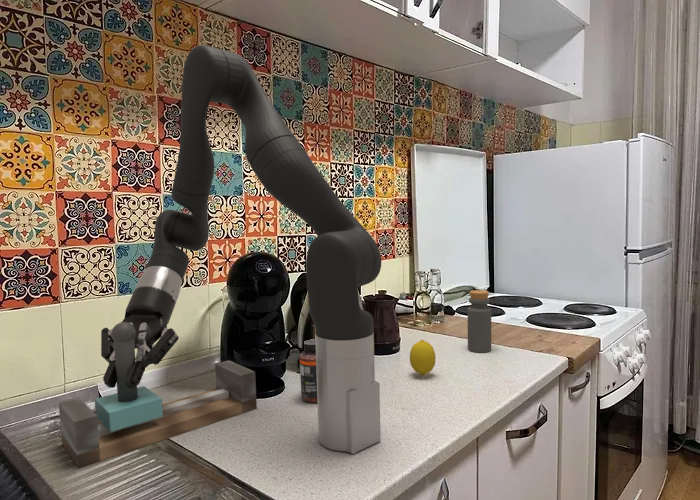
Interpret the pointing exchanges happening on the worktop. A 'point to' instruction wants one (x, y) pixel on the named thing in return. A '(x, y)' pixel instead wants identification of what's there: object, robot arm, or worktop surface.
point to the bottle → (479, 322)
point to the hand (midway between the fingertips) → (119, 385)
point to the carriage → (126, 388)
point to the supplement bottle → (308, 371)
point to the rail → (178, 417)
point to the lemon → (422, 357)
